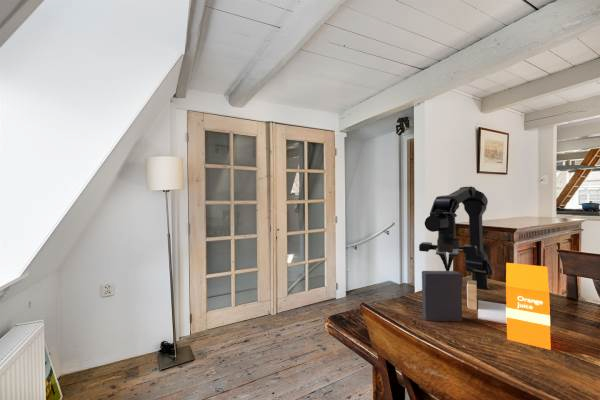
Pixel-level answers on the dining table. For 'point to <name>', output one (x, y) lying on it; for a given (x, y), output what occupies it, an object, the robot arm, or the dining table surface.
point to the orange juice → (528, 304)
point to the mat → (492, 311)
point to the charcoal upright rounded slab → (442, 295)
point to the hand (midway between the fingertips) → (447, 271)
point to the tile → (472, 294)
